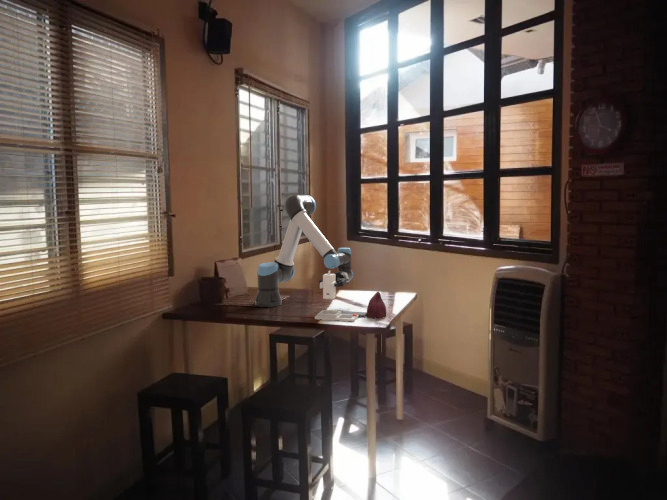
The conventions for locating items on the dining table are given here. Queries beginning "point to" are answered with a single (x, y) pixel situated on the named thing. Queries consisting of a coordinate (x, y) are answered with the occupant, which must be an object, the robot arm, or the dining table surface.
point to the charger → (329, 286)
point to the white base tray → (336, 316)
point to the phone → (361, 314)
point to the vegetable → (376, 307)
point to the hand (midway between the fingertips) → (326, 285)
